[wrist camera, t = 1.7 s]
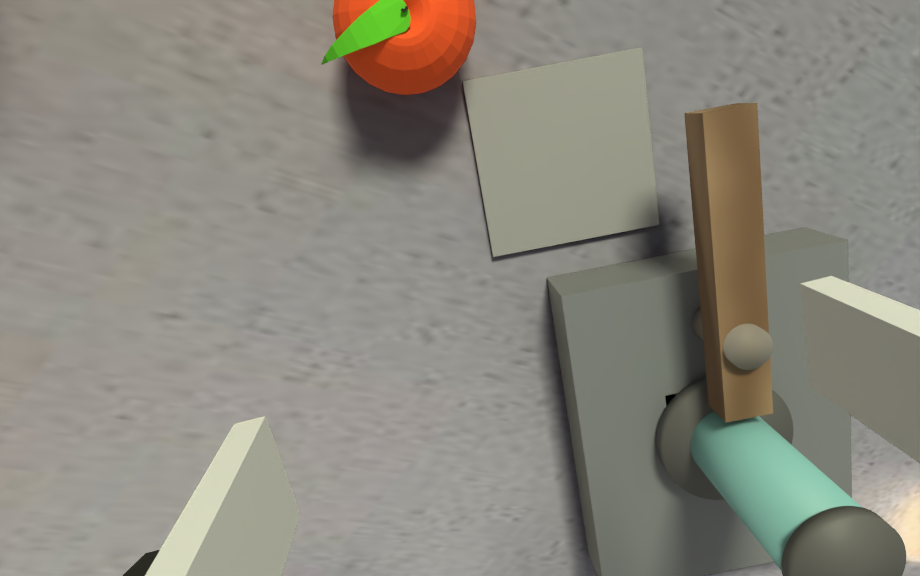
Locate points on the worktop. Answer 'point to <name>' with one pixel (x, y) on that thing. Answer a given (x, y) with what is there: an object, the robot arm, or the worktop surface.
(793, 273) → the socket block
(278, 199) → the worktop surface
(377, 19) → the clementine
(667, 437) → the plug
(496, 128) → the mat
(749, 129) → the brown wooden lever
